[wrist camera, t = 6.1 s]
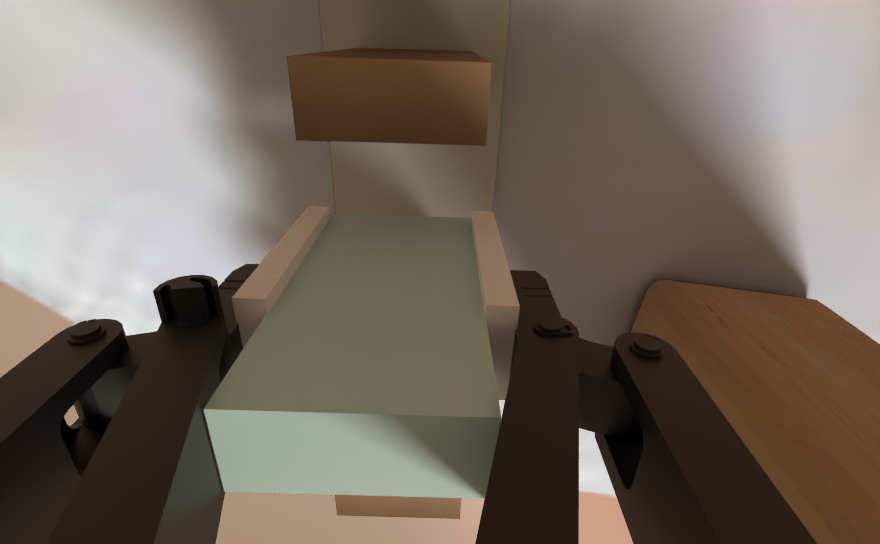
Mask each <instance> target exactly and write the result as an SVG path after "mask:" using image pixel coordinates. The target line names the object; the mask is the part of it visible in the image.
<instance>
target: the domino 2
mask: <svg viewBox="0 0 880 544" xmlns="http://www.w3.org/2000/svg"><path fill="white" fill-rule="evenodd" d="M335 500H336V509H337V515H346V516H383V517H417V518H450V519H460V506H461V498H439V497H403V496H367V495H335Z"/></svg>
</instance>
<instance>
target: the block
mask: <svg viewBox="0 0 880 544" xmlns="http://www.w3.org/2000/svg"><path fill="white" fill-rule="evenodd" d="M634 332H637V333H646V334H650V335H652V336H653V335H654V336H656V337H659V338H660V339H662V340H664V341H666V342H668V343H669V344H671V345H672V346H673V347H674V348H675V349H676V350H677V352H678V353H679V354H680V356H681V357H682V358H683V360H684V361H685V363H686V364H687V365H688V367H689V368H690V369H691V371H692V372H693V374H694V375H695V376H696V378H697V379H698V380H699V382H700V383H701V385H702V386H703V387H704V389H705V390H706V391H707V393H708V394H709V396H710V397H711V398H712V400H713V401H714V402H715V404H716V405H717V407H718V408H719V409H720V411H721V412H722V413H723V415H724V416H725V418H726V419H727V420H728V422H729V423H730V424H731V426H732V427H733V429H734V430H735V431H736V433H737V434H738V435H739V437H740V438H741V440H742V441H743V442H744V444H745V445H746V446H747V448H748V449H749V451H750V452H751V453H752V455H753V456H754V457H755V459H756V460H757V462H758V463H759V464H760V466H761V467H762V468H763V470H764V471H765V473H766V474H767V475H768V477H769V478H770V479H771V481H772V482H773V484H774V485H775V486H776V488H777V489H778V490H779V492H780V493H781V495H782V496H783V497H784V499H785V500H786V501H787V503H788V504H789V506H790V507H791V508H792V510H793V511H794V512H795V514H796V515H797V517H798V518H799V519H800V521H801V522H802V523H803V525H804V526H805V528H806V529H807V530H808V532H809V533H810V534H811V536H812V537H813V539H814V540H815V541H816V543H817V544H880V344H878V343H877V342H876V341H874V340H873V339H871V338H870V337H869V336H867V335H866V334H864V333H863V332H862V331H860V330H859V329H857V328H856V327H855V326H853V325H852V324H850V323H849V322H847V321H846V320H845V319H843V318H842V317H840V316H839V315H838V314H836V313H835V312H833V311H832V310H831V309H829V308H828V307H826V306H825V305H823V304H822V303H820V302H819V301H817V300H813V299H807V298H800V297H792V296H785V295H777V294H770V293H762V292H754V291H747V290H739V289H732V288H724V287H717V286H709V285H702V284H694V283H687V282H679V281H671V280H659V281H654V282H653V283H652V284H651V285H650V287H649V288H648V289H647V291H646V294H645V296H644V299H643V301H642V304H641V306H640V309H639V312H638V314H637V317H636V319H635V322H634V324H633V327H632V330H631V332H630V333H634Z"/></svg>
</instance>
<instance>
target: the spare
mask: <svg viewBox="0 0 880 544" xmlns="http://www.w3.org/2000/svg"><path fill="white" fill-rule="evenodd" d="M204 413H205V417H206V421H207V425H208V429H209V433H210V437H211V441H212V445H213V449H214V453H215V457H216V461H217V465H218V469H219V473H220V477H221V481H222V484H223V488H224V491H225V492H263V493H296V494H298V493H299V494H332V495H367V496H403V497H439V498H474V499H477V498H478V499H485V496H486V491H487V486H488V481H489V476H490V472H491V467H492V462H493V457H494V452H495V448H496V443H497V438H498V433H499V428H500V423H501V414H500V407H499V400H498V394H497V387H496V380H495V373H494V367H493V360H492V353H491V347H490V340H489V333H488V327H487V321H485V318H484V311H483V303H482V296H481V289H480V282H479V275H478V268H477V261H476V254H475V247H474V240H473V233H472V226H471V218H460V217H427V216H394V215H361V214H332V215H331V218H330V219H329V221H328V223H327V224H326V226H325V227H324V229H323V230H322V232H321V233H320V235H319V236H318V238H317V239H316V241H315V242H314V244H313V246H312V247H311V249H310V250H309V252H308V253H307V255H306V256H305V258H304V259H303V261H302V262H301V264H300V265H299V267H298V269H297V270H296V272H295V273H294V275H293V276H292V278H291V279H290V281H289V282H288V284H287V285H286V287H285V288H284V290H283V291H282V293H281V295H280V296H279V298H278V299H277V301H276V302H275V304H274V305H273V307H272V308H271V310H270V311H269V313H268V314H266V315H265V317H264V318H263V320H262V321H261V323H260V324H259V326H258V327H257V329H256V330H255V332H254V333H253V335H252V336H251V338H250V339H249V341H248V342H247V344H246V345H245V347H244V348H243V350H242V351H241V353H240V355H239V356H238V358H237V359H236V361H235V362H234V364H233V365H232V367H231V368H230V370H229V371H228V373H227V374H226V376H225V377H224V379H223V380H222V382H221V383H220V385H219V386H218V388H217V389H216V391H215V392H214V394H213V395H212V397H211V398H210V400H209V402H208V403H207V405H206V406H205V408H204Z"/></svg>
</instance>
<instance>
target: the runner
mask: <svg viewBox="0 0 880 544" xmlns="http://www.w3.org/2000/svg"><path fill="white" fill-rule="evenodd" d="M510 1H511V0H319V8H320V21H321V34H322V47H323V52H327V51H335V50H342V49H350V48H385V49H417V50H450V51H472V52H474V53H476V54H478V55H479V56H481V57H483V58H485V59H486V60H488V61H490V62H491V63H492V69H491V83H490V97H489V111H488V125H487V139H486V146H474V145H441V144H407V143H374V142H341V141H330V150H331V163H332V176H333V189H334V202H335V214H361V215H394V216H427V217H460V218H471V213H472V211H493V207H494V195H495V183H496V171H497V159H498V147H499V135H500V123H501V110H502V98H503V86H504V74H505V62H506V50H507V38H508V26H509V14H510Z"/></svg>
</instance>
